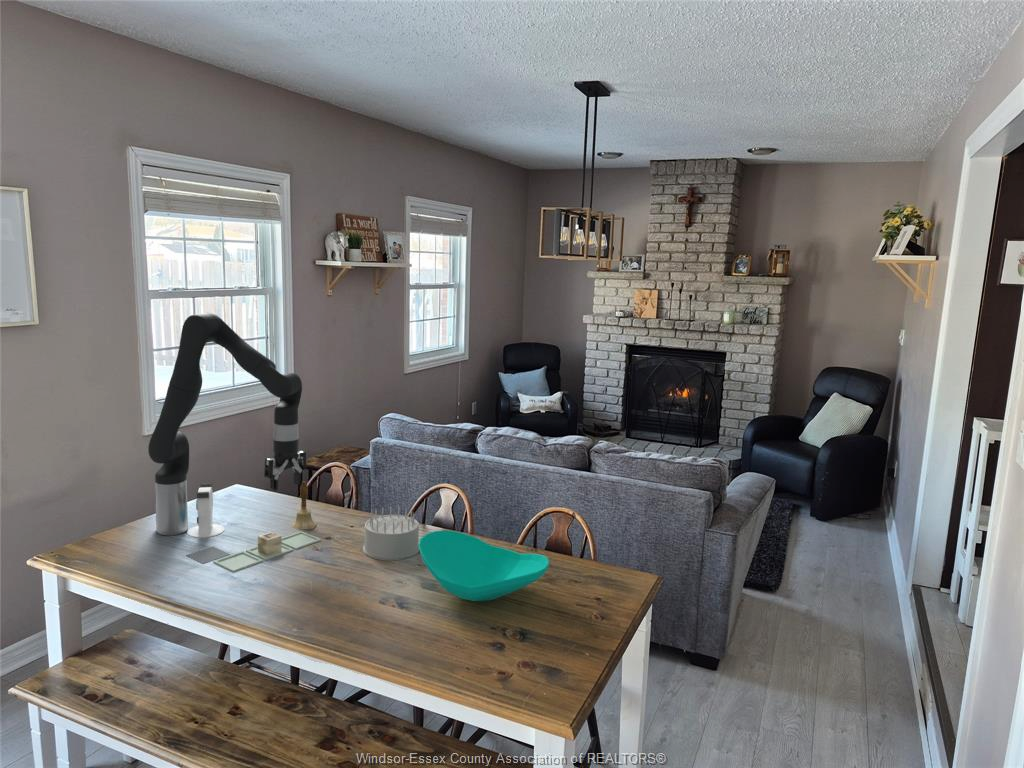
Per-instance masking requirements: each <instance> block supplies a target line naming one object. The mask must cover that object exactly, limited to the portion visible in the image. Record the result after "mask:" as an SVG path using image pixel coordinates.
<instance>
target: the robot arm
mask: <svg viewBox="0 0 1024 768" xmlns="http://www.w3.org/2000/svg"><path fill="white" fill-rule="evenodd" d="M208 343H214V344H216V345H218V346H220V347H222V348H224V349H225V350H227V351H228V352H229V353H230V354H231V356H232V357H233V359H234V360H235V362H236V363H237V365H239V367H241V369H243V370H244V371H245V372H246V373H248V374H249V375H251V376H252V377H254V378H255V379H257V380H258V381H259V382H260V384H262V386H263V387H264V388H265V389H266V390H267V391H268V393H270V394H272V396H275V397H277V398H279V402H278V403H277V405H275V407H274V410H273V411H274V413H273V415H274V417H273V418H274V419H273V423H274V424H273V432H272V433H273V438H272V439H273V440H272V441H273V442H272V443H273V447H272V448H273V453H274V456H273V457H272V458H265V460H264V478H266V479H269V480H270V483H269V484H270V485H269V486H270V489H271V490H272V491H274V492H276V491H278V489H279V479H278V477H279V476H280V474H282V473H283V472H284V471H286V470H288V469H292V470H293V471H294V472H293V484H294V485H297V486H298V485H301V483H302V472H303V471H306V470H307V452H305V451H303V450H300V449H299V443H300V442H299V441H300V437H299V436H300V435H299V433H300V431H299V429H300V428H299V406H300V403H301V398H302V393H303V383H302V382H303V381H302V380H301V379H302V378H301V377H300V376H299V375H298V374H297V373H296V372H285V373H281V372H279V371H278V370H277V367H276V363H275V362H273V361H272V359H269V358H268V357H267V356H265V354H264V355H263V353H261V352H260V351H258V350H257V349H255V348H254V347H253V346H252V345H250V344H248V343H247V342H246V341H245V340H244V339H243V338H242V337H241V336H240V335H239V334H237V333H236V331H234V330H233V329H232V328H231V327H230V326H229V325H228V324H227V323H226V322H225V321H224V320H223V319H222V318H221V317H220V316H218V314H215V313H213V312H202V313H194V314H191V315H189V316H188V317H186V319H185V320H184V322H183V325H182V329H181V333H180V341H179V347H178V351H177V355H176V356H177V357H176V358H175V359H176V360H175V363H174V367H173V371H172V374H171V377H170V381H169V383H168V386H167V390H166V395H165V399H164V401H163V405H162V409H161V411H160V414H159V417H158V421H157V423H156V426H155V427H154V430H153V432H152V435H151V437H150V440H149V443H148V447H147V448H148V456H149V458H150V460H152V461H153V462H154V463H155V464H158V465H159V464H161V465H162V466H161V467H160V468H159V469H158V470H157V471H156V473H155V474H154V481H155V485H154V486H155V503H154V504H155V524H156V528H155V529H156V532H157V534H158V535H162V536H176V535H180V534H182V533H183V534H184V533H185V532H187V531H188V530H189V521H188V520H189V519H188V517H189V516H188V490H187V489H188V487H187V482H188V481H187V475H188V472H189V468H190V443H189V440H188V438H187V436H186V434H184V433H183V432H182V431H179V429H180V427H181V425H182V424H183V422H184V421H185V420H186V418H187V417H188V416H189V415H190V413H191V412H192V410H193V409H194V408H195V406H196V404H197V402H198V400H199V397H200V393H201V390H202V386H203V376H202V371H201V364H200V363H201V359H202V358H201V357H202V355H203V351H204V348H205V346H206V344H208ZM297 460H298V461H297Z"/></svg>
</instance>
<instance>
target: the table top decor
mask: <svg viewBox="0 0 1024 768" xmlns="http://www.w3.org/2000/svg"><path fill="white" fill-rule="evenodd" d="M418 544H419V545H418V546H419V549H420V550H419V552H420V555H421V559H422V561H423V563H424V565H425V566H426V568H427V570H428V571H429V573H430V574H431V575H432V576H433V577H434V578H435V579H436V581H437V582H438V583H439V584H440V585H441V587H442V588H443V589H444V590H445V591H446V592H448V593H450V594H451V595H454V596H455V597H457V598H460V599H463V600H466V601H473V602H485V601H486V602H487V601H492V600H496V599H499V598H501V597H504V596H506V595H509V594H512V593H514V592H517V591H519V590H520V589H523V588H525V587H527V586H528V585H531V584H532V583H534V582H536V581H538V580H539V579H541V577H543V576H544V575H545V573H546V572H547V570H548V568H549V566H550V560H549V558H548V557H547V556H545V555H543V554H537V553H520V552H517V551H513V550H511V549H508V548H503V547H499V546H496V545H495V546H494V545H491V543H488V542H486V541H483V540H482V539H480V538H478V537H475V536H473V535H470V534H468V533H464V532H460V531H454V530H447V529H443V530H435V531H432V532H428V533H426V534H425V535H423V536H422V537H421V538H419V541H418Z"/></svg>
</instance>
